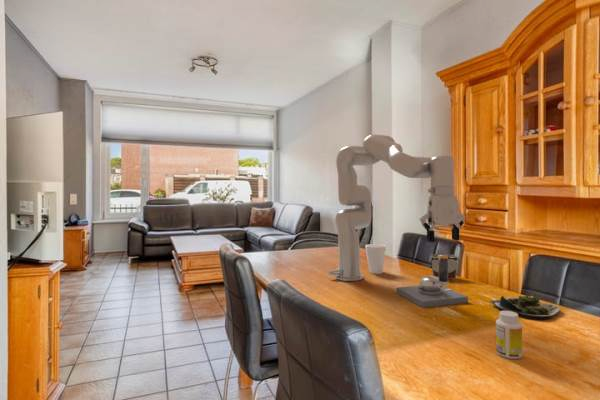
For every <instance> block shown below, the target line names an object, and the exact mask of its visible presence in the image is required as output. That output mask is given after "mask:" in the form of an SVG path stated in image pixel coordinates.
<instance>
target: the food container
mask: <svg viewBox="0 0 600 400" xmlns="http://www.w3.org/2000/svg"><path fill="white" fill-rule="evenodd" d="M439 255H447V256H448V280H451V279H453V280H456V278H457V267H458V262H459V261H460V258H459V257H458V255H455V254H449V253H436V254H431V255H430V257H429V262H431V268H432V269H431V270H432V275H433V276H436V277H438V278H439Z"/></svg>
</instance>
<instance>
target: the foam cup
mask: <svg viewBox="0 0 600 400" xmlns="http://www.w3.org/2000/svg"><path fill="white" fill-rule="evenodd" d="M386 247H387V246H386V245H385V244H381V243H380V244H379V243H371V244H365V252H366V258H367V266H368V272H369V273H370V274H374V275H375V274H376V275H380V274H381V275H382V274H383V272H384V266H385V265H384V264H385V255H386V250H387V248H386Z"/></svg>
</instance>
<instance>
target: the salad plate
mask: <svg viewBox="0 0 600 400" xmlns="http://www.w3.org/2000/svg"><path fill="white" fill-rule="evenodd" d="M489 303H490V304H492V305H493V306H495V308H496V309H497V310H498V311H499V312H500V311H512V312H515V313H517V314H518V318H522V319H528V320H536V321H543V320H544V321H545V320H546V321H547V320H549V319H552V318H554V316H556V315H558V314H559V312H560V311H561V308H560V307H559V306H557V305H554V304H551V303H543V302H540V298H539V297H536V296H535V297H534V296H533V295H530V296H528V295H522V296H521V295H519V296H518V297H506V296H504V295H501V297H500V300H498V299H496V300H490V301H489Z"/></svg>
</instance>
